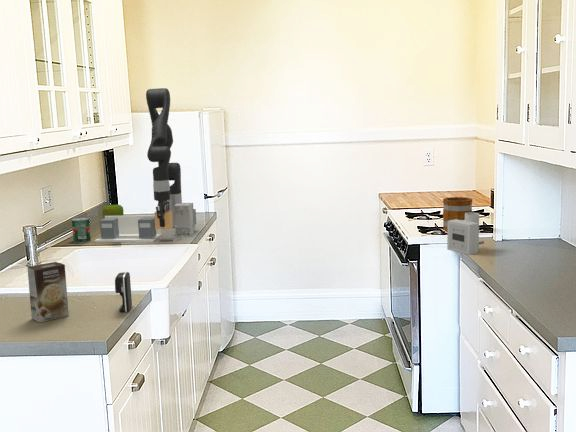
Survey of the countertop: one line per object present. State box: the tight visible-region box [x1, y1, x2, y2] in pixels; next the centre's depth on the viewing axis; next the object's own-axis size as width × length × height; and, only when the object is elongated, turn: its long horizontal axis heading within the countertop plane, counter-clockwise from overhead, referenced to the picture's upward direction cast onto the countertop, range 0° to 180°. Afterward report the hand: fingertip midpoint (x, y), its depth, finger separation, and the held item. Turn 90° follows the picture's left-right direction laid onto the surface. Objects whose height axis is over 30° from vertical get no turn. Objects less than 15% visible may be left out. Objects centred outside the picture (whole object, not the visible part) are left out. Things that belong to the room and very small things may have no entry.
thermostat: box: [446, 212, 485, 256], centre depth 262 cm, size 12×14×15 cm
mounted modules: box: [99, 218, 156, 238], centre depth 304 cm, size 6×25×8 cm, turn 84°
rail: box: [97, 235, 156, 239], centre depth 304 cm, size 4×27×1 cm, turn 84°
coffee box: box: [26, 261, 70, 323], centre depth 192 cm, size 9×6×16 cm
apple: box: [102, 203, 124, 219], centre depth 350 cm, size 11×11×11 cm
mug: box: [442, 196, 473, 233], centre depth 305 cm, size 20×14×15 cm
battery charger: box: [114, 271, 133, 313], centre depth 198 cm, size 7×4×11 cm, turn 5°
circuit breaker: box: [174, 202, 197, 237], centre depth 315 cm, size 8×14×15 cm, turn 174°
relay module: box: [153, 210, 174, 230], centre depth 299 cm, size 5×7×8 cm
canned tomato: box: [71, 217, 92, 244], centre depth 303 cm, size 8×8×11 cm
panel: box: [94, 214, 163, 243], centre depth 306 cm, size 15×28×10 cm, turn 84°
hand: (164, 225), depth 300 cm, fingers closed on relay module, 5 cm apart
